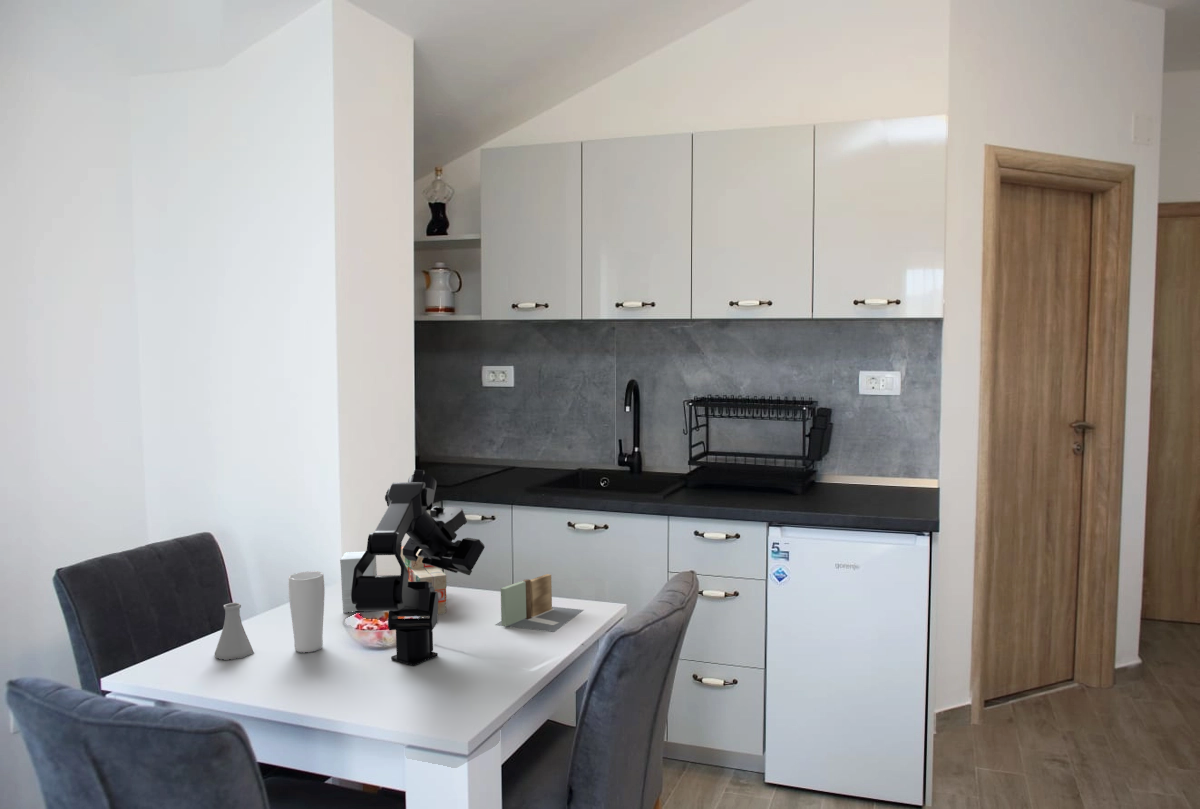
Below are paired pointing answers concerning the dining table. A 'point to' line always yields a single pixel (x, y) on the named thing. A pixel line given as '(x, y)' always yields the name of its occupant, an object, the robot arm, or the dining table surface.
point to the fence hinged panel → (513, 603)
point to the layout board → (547, 619)
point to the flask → (233, 635)
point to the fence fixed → (538, 595)
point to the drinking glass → (307, 609)
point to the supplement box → (347, 573)
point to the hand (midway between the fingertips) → (463, 572)
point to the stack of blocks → (427, 578)
